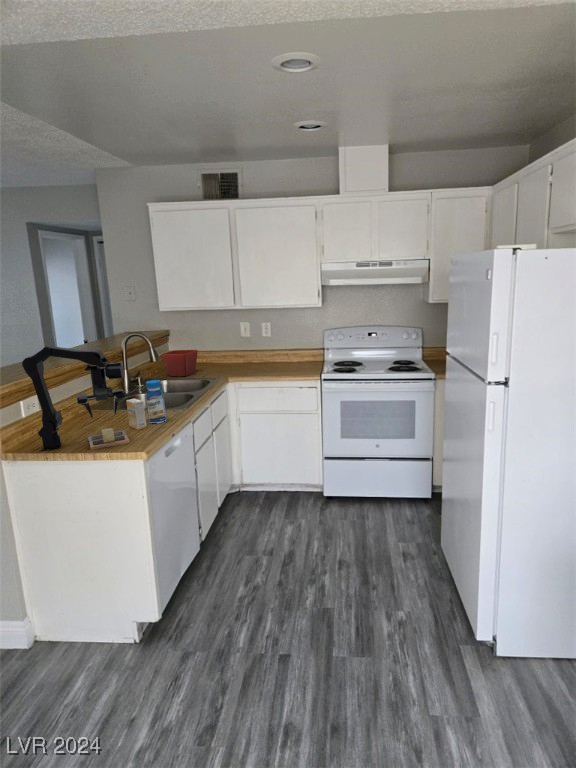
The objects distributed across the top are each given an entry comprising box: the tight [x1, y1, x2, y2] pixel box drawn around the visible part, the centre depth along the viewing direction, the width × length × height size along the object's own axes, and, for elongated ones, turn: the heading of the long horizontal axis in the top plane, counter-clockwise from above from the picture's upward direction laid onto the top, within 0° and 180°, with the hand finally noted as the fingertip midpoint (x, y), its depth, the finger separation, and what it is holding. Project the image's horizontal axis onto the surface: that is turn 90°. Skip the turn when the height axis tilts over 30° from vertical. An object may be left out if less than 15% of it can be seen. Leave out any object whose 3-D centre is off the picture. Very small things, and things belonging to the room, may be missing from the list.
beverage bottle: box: [145, 379, 167, 424], centre depth 241 cm, size 8×8×20 cm
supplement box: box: [125, 398, 147, 431], centre depth 235 cm, size 8×5×13 cm, turn 44°
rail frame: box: [87, 429, 130, 451], centre depth 218 cm, size 15×17×1 cm
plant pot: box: [160, 349, 198, 377], centre depth 358 cm, size 19×19×17 cm
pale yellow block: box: [101, 427, 116, 444], centre depth 214 cm, size 4×4×6 cm
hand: (103, 416), depth 214 cm, fingers open, 9 cm apart
